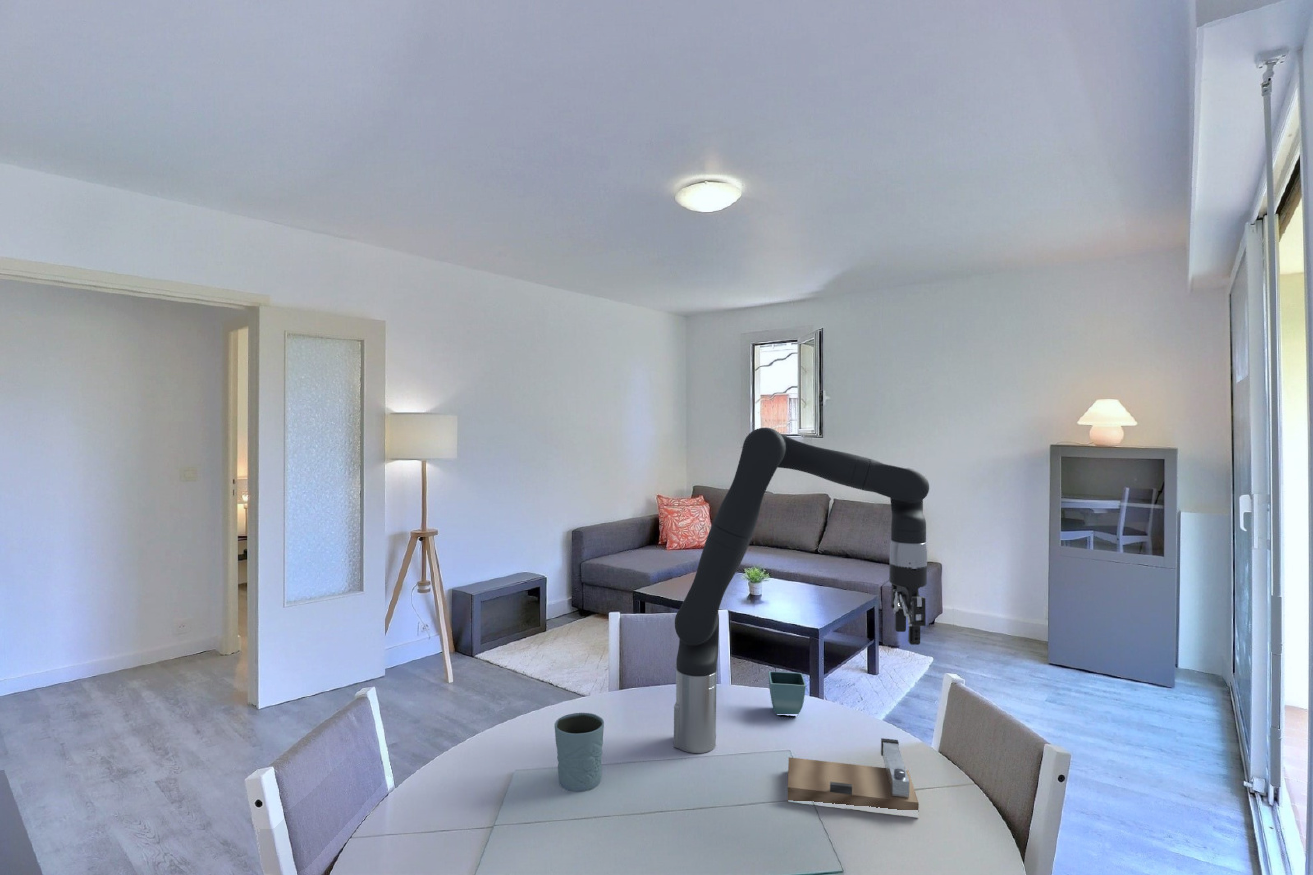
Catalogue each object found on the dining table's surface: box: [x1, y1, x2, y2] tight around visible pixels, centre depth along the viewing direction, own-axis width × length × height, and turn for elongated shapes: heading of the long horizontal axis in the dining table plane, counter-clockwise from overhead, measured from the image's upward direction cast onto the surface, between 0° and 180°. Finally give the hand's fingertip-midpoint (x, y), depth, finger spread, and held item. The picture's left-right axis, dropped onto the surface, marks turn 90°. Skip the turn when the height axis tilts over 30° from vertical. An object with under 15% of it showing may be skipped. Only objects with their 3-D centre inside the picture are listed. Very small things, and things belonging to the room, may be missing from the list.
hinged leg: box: [880, 737, 910, 798], centre depth 136 cm, size 17×3×4 cm, turn 168°
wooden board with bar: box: [787, 757, 920, 811], centre depth 134 cm, size 24×12×4 cm, turn 78°
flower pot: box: [768, 670, 807, 715], centre depth 171 cm, size 9×9×9 cm
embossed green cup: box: [554, 712, 605, 793], centre depth 138 cm, size 10×10×12 cm
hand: (907, 637), depth 144 cm, fingers open, 8 cm apart
